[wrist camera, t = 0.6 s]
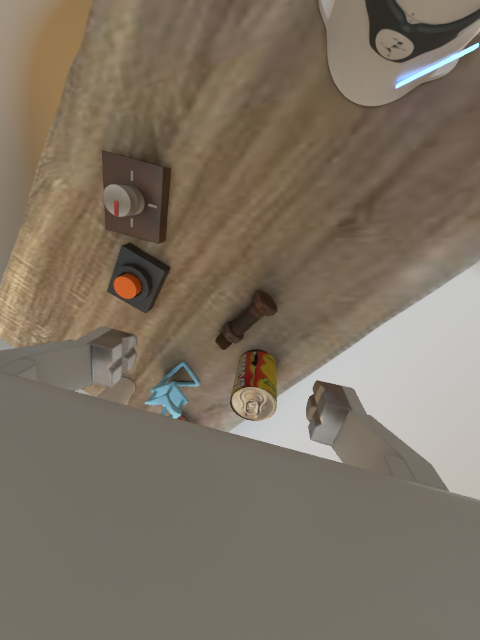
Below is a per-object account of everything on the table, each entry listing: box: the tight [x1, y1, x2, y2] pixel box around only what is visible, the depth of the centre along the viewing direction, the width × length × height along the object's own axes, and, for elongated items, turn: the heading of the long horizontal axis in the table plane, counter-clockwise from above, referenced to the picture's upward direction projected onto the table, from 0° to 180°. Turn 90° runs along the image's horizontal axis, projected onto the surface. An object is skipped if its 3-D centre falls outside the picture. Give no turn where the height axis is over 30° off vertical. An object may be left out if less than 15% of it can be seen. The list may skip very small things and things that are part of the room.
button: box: [114, 273, 142, 299], centre depth 45 cm, size 4×4×2 cm
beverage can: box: [230, 350, 277, 421], centre depth 51 cm, size 9×9×12 cm
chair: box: [145, 361, 200, 419], centre depth 56 cm, size 8×8×12 cm
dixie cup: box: [97, 377, 135, 405], centre depth 61 cm, size 8×8×10 cm
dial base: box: [102, 150, 171, 244], centre depth 41 cm, size 12×10×3 cm
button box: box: [107, 243, 170, 313], centre depth 47 cm, size 11×9×4 cm
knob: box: [103, 184, 145, 217], centre depth 38 cm, size 4×4×5 cm
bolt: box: [215, 291, 277, 350], centre depth 49 cm, size 6×5×15 cm
